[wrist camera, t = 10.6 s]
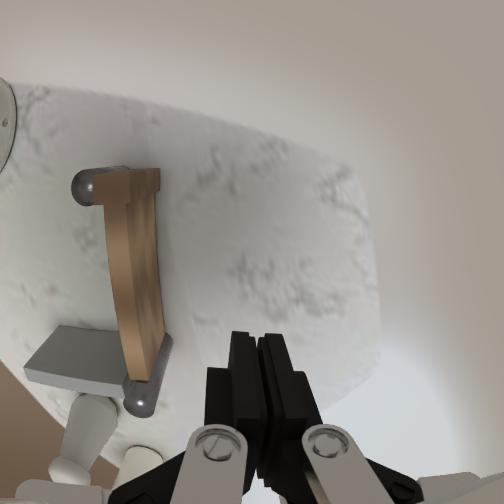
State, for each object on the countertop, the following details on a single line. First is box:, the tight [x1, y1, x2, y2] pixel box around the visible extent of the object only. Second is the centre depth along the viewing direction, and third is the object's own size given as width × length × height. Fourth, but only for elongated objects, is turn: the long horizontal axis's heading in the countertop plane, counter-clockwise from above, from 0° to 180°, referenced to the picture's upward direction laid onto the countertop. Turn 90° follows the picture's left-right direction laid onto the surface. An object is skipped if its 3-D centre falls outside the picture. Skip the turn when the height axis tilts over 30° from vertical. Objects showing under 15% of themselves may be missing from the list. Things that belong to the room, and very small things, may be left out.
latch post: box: [71, 166, 131, 206], centre depth 21 cm, size 2×2×7 cm
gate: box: [92, 168, 165, 381], centre depth 22 cm, size 15×2×8 cm, turn 179°
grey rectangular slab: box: [23, 326, 132, 399], centre depth 25 cm, size 10×2×8 cm, turn 88°
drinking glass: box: [112, 447, 163, 490], centre depth 27 cm, size 7×7×15 cm
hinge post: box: [123, 333, 173, 418], centre depth 25 cm, size 2×2×10 cm
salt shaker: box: [48, 393, 118, 486], centre depth 25 cm, size 6×6×13 cm
